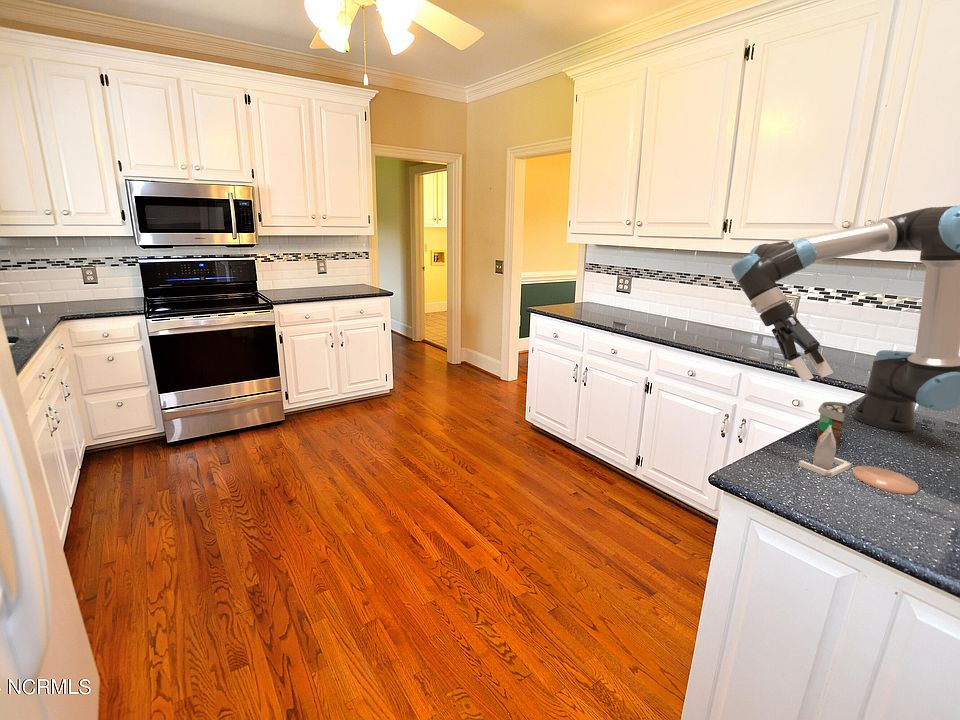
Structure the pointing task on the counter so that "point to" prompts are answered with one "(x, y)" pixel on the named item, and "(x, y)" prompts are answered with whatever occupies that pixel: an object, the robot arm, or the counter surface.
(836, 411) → the food container
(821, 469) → the holder
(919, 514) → the counter surface
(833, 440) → the tea bag
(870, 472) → the saucer
